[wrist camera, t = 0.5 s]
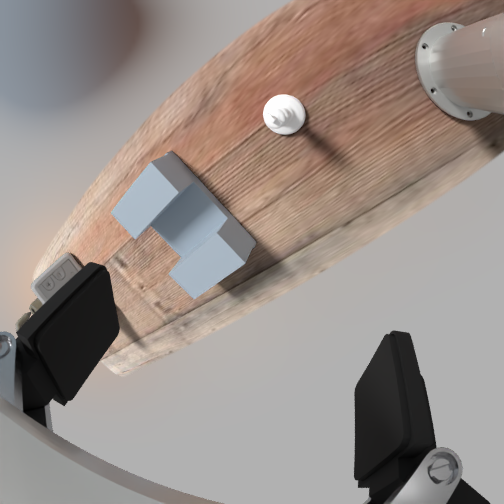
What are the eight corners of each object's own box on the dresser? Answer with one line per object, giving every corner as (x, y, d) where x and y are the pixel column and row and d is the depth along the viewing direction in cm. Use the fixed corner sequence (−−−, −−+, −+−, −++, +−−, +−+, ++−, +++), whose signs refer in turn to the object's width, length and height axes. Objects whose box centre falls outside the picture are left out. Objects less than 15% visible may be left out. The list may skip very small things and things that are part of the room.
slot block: (171, 150, 38) (149, 160, 33) (256, 242, 42) (246, 264, 37) (132, 196, 42) (109, 211, 37) (209, 277, 46) (195, 300, 41)
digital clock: (122, 313, 56) (94, 349, 47) (97, 318, 59) (70, 350, 50) (78, 244, 50) (42, 274, 41) (56, 257, 53) (23, 284, 44)
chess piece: (289, 142, 34) (278, 158, 26) (255, 119, 34) (233, 126, 25) (313, 110, 32) (311, 114, 23) (279, 86, 31) (264, 82, 23)
